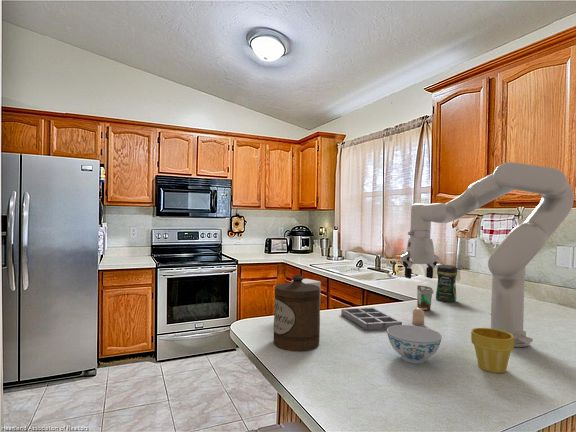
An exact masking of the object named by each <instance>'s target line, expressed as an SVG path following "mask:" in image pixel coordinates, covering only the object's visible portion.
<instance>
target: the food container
mask: <svg viewBox="0 0 576 432" xmlns="http://www.w3.org/2000/svg"><path fill="white" fill-rule="evenodd" d="M416 289H417V294H416V295H417V297H416V298H417V299H416V300H417V301H416V302H417V303H416V306H417V307H416V308H421V309H422V310H423V311H424V312H430V311H431V308H432V299H433V298H432V297H433V294H434V290H433V288H432V287H431V286H427V285H418V284H417V287H416Z"/></svg>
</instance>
